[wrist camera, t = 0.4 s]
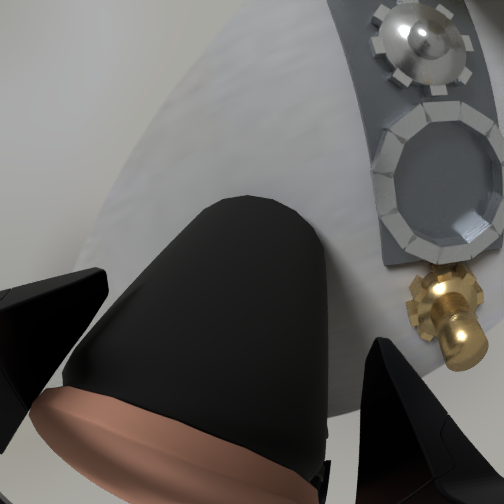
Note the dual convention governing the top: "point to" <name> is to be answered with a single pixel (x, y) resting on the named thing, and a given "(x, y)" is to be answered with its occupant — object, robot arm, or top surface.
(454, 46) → the sun gear
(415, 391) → the robot arm
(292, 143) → the top surface
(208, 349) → the coffee jar
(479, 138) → the carrier
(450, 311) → the planet gear
